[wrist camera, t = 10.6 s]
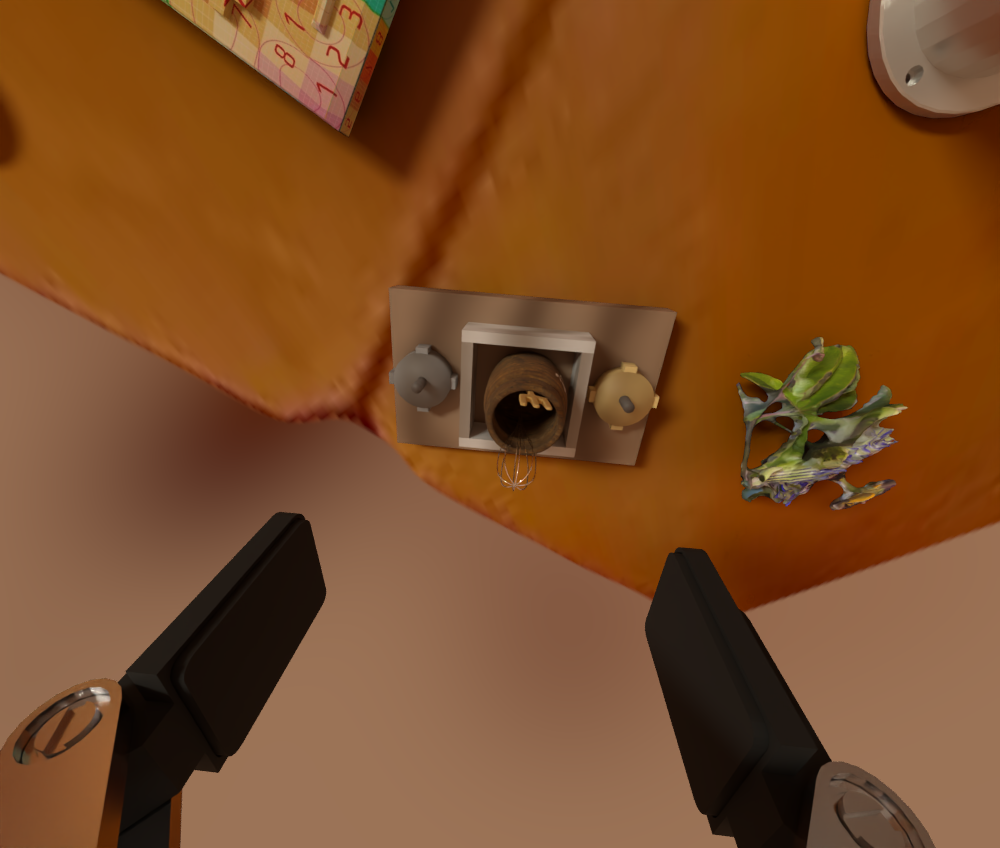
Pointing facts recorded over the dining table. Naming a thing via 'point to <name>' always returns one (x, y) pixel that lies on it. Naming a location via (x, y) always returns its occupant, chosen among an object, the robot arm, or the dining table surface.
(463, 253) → the dining table surface
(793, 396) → the passion flower
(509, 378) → the utensil holder
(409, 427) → the gear board
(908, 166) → the dining table surface
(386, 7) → the puzzle game
